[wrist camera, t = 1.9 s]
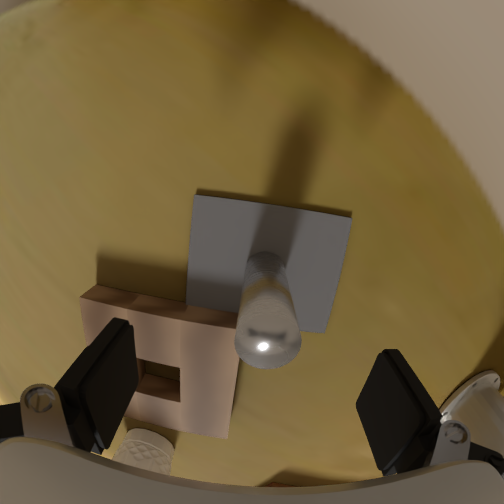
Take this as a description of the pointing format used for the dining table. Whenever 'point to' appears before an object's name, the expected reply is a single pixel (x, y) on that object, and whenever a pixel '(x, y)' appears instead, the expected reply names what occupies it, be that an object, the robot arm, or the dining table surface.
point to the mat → (265, 239)
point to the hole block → (173, 358)
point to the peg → (266, 315)
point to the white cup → (145, 451)
